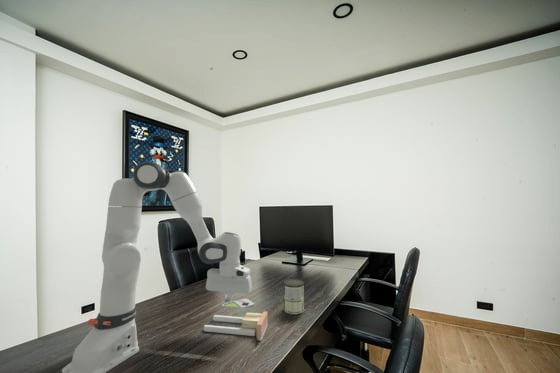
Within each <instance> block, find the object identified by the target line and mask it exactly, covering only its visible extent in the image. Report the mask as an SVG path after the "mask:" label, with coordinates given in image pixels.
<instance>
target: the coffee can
mask: <svg viewBox="0 0 560 373" xmlns="http://www.w3.org/2000/svg"><path fill="white" fill-rule="evenodd" d="M304 285H305V282H304V281H303V280H302V279H297V278H290V279H285V280H284V281H283V288H284V289H283V290H284V291H283V292H284V294H283V295H284V296H283V303H284V304H283V307H284V308H283V310H284V312H285V313H286V314H289V315H299V314H302V313H304V310H305V309H304V305H305V302H304V289H305V288H304Z"/></svg>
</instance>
